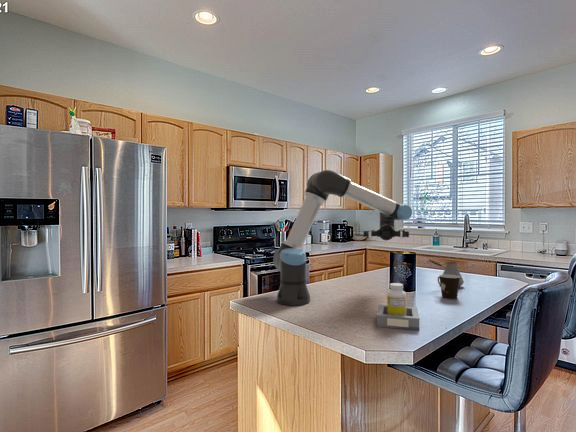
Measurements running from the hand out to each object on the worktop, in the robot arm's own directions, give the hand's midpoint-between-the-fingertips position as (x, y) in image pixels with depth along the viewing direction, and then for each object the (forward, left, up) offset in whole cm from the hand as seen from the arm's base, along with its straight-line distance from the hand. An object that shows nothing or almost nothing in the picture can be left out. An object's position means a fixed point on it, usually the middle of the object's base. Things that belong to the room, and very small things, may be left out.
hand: (385, 235), depth 149 cm
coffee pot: (+29, +41, -30) cm, 59 cm away
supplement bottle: (+5, -26, -29) cm, 39 cm away
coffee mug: (+28, +19, -30) cm, 45 cm away
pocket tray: (+5, -26, -30) cm, 40 cm away
